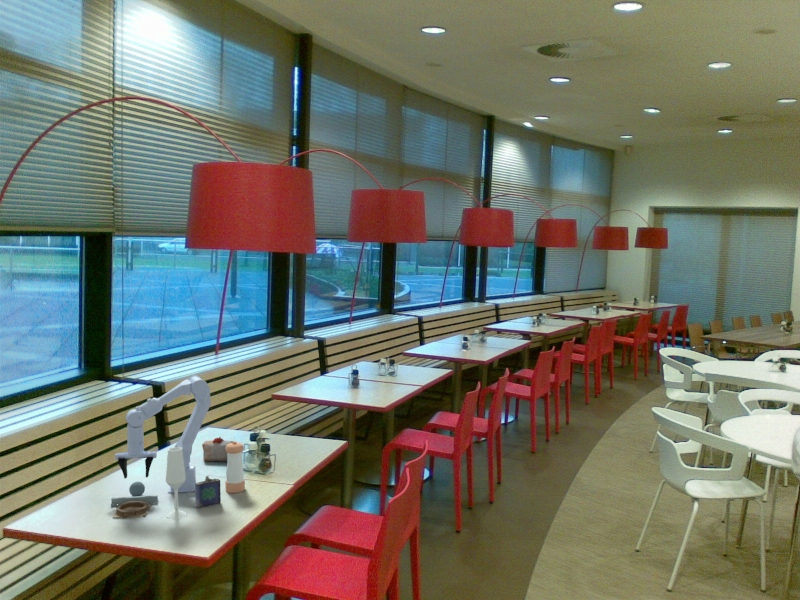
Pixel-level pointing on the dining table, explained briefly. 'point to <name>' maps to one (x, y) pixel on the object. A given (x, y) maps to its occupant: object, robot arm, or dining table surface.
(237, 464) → the pepper shaker
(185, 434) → the robot arm
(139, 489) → the ball
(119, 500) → the grey bar
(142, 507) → the ring cradle
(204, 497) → the flask
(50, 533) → the dining table surface
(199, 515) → the dining table surface
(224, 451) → the food item
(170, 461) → the champagne flute
